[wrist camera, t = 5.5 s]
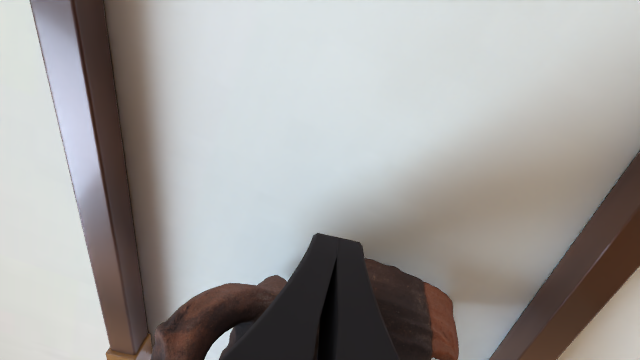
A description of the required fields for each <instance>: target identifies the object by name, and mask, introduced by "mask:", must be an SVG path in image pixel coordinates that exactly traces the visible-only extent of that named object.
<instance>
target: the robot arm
mask: <svg viewBox="0 0 640 360" xmlns="http://www.w3.org/2000/svg"><path fill="white" fill-rule="evenodd" d="M319 321H320V327H319V340H318V353H317V360H400V358H399V356H398V354H397V352H396V349H395V347H394V345H393V342H392V340H391V338H390V335H389V333H388V330H387V328H386V326H385V323H384V320H383V318H382V315H381V312H380V310H379V307H378V304H377V301H376V298H375V295H374V292H373V289H372V286H371V282H370V279H369V275H368V271H367V267H366V263H365V259H364V254H363V247H362V245H361V244H360V242H356V241H351V240H347V239H342V238H338V237H333V236H329V235H324V234H320V233H317V234H315V235H313V238H312V241H311V243H310V245H309V248H308V250H307V252H306V253H305V255H304V257H303V259H302V260H301V262H300V264H299V265H298V267H297V268H296V270H295V271H294V273H293V274H292V276H291V277H290V279H289V280H288V282H287V283H286V285H285V286H284V287H283V289H282V290H281V291H280V293H279V294H278V295H277V296H276V298H275V299H274V300H273V302H272V303H271V304H270V305H269V307H268V308H267V309H266V310H265V312H264V313H263V314H262V315H261V316H260V317H259V319H258V320H257V321H256V322H255V323H254V324H253V325H252V326H251V327H250V329H249V330H248V331H247V332H246V333H245V334H244V335H243V336H242V337H241V338H240V339H239V340H238V341H237V342H236V343H235V344H234V345H233V346H232V347H231V348H230V349H229V350H228V351H227V352H226V353H225V354H224V355H223V356H222V357H221V358H220V359H219V360H313V356H314V349H315V343H316V336H317V329H318V325H319Z"/></svg>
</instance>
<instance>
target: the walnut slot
mask: <svg viewBox="0 0 640 360" xmlns="http://www.w3.org/2000/svg"><path fill="white" fill-rule="evenodd" d="M30 4H31V8H32V12H33V17H34V21H35V25H36V30H37V34H38V38H39V43H40V47H41V51H42V56H43V60H44V64H45V68H46V73H47V77H48V81H49V86H50V90H51V94H52V99H53V103H54V107H55V111H56V116H57V120H58V124H59V129H60V133H61V137H62V142H63V146H64V150H65V155H66V159H67V163H68V167H69V172H70V176H71V180H72V185H73V189H74V193H75V198H76V202H77V206H78V210H79V215H80V219H81V223H82V228H83V232H84V236H85V241H86V245H87V249H88V254H89V258H90V262H91V266H92V271H93V275H94V279H95V284H96V288H97V292H98V297H99V301H100V305H101V309H102V314H103V318H104V322H105V327H106V331H107V335H108V340H109V344H110V348H109V349H108V351H107V352H106V357H107V360H150V359H151V355H152V351H153V350H152V342H151V335H150V334H148V330H147V322H146V315H145V308H144V300H143V293H142V285H141V278H140V270H139V263H138V256H137V248H136V241H135V233H134V226H133V219H132V211H131V204H130V196H129V189H128V182H127V174H126V167H125V159H124V152H123V145H122V137H121V130H120V122H119V115H118V108H117V100H116V93H115V85H114V78H113V71H112V63H111V56H110V48H109V41H108V33H107V26H106V19H105V11H104V4H103V0H30ZM639 266H640V151H639V153H638V154H637V155H636V157H635V158H634V160H633V161H632V162H631V164H630V165H629V167H628V168H627V169H626V171H625V172H624V173H623V175H622V176H621V178H620V179H619V180H618V182H617V183H616V185H615V186H614V187H613V189H612V190H611V192H610V193H609V194H608V196H607V197H606V198H605V200H604V201H603V203H602V204H601V205H600V207H599V208H598V210H597V211H596V212H595V214H594V215H593V216H592V218H591V219H590V221H589V222H588V223H587V225H586V226H585V228H584V229H583V230H582V232H581V233H580V235H579V236H578V237H577V239H576V240H575V241H574V243H573V244H572V246H571V247H570V248H569V250H568V251H567V253H566V254H565V255H564V257H563V258H562V259H561V261H560V262H559V264H558V265H557V266H556V268H555V269H554V271H553V272H552V273H551V275H550V276H549V278H548V279H547V280H546V282H545V283H544V284H543V286H542V287H541V289H540V290H539V291H538V293H537V294H536V296H535V297H534V298H533V300H532V301H531V302H530V304H529V305H528V307H527V308H526V309H525V311H524V312H523V314H522V315H521V316H520V318H519V319H518V320H517V322H516V323H515V325H514V326H513V327H512V329H511V330H510V332H509V333H508V334H507V336H506V337H505V339H504V340H503V341H502V343H501V344H500V345H499V347H498V348H497V350H496V351H495V352H494V354H493V355H492V357H491V358H490V359H489V360H556V359H557V358H558V357H559V356H560V355H561V354H562V353H563V352H564V350H565V349H566V348H567V347H568V346H569V345H570V344H571V343H572V341H573V340H574V339H575V338H576V337H577V336H578V335H579V334H580V332H581V331H582V330H583V329H584V328H585V327H586V326H587V325H588V323H589V322H590V321H591V320H592V319H593V318H594V317H595V316H596V315H597V313H598V312H599V311H600V310H601V309H602V308H603V307H604V306H605V304H606V303H607V302H608V301H609V300H610V299H611V298H612V297H613V295H614V294H615V293H616V292H617V291H618V290H619V289H620V288H621V286H622V285H623V284H624V283H625V282H626V281H627V280H628V279H629V277H630V276H631V275H632V274H633V273H634V272H635V271H636V270H637V268H638V267H639Z"/></svg>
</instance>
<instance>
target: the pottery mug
mask: <svg viewBox="0 0 640 360" xmlns="http://www.w3.org/2000/svg"><path fill="white" fill-rule="evenodd" d="M364 259H365V263H366V267H367V271H368V275H369V279H370V282H371V286H372V289H373V292H374V295H375V298H376V301H377V304H378V307H379V310H380V312H381V315H382V318H383V320H384V323H385V326H386V328H387V330H388V333H389V335H390V338H391V340H392V342H393V345H394V347H395V349H396V352H397V354H398V356H399V358H400V360H431V358H433V357H434V358H435V359H439V360H458V354H459V348H458V338H457V332H456V326H455V321H454V317H453V304H452V301H451V300H450V299H449V297H448V296H447V295H446V294H445V293H443V292H442V291H441V290H439V289H438V288H437V287H434V286H432V285H430V284H428V283H426V282H423V281H422V280H420V279H419V278H417V277H414V276H411V275H409V274H406V273H404V272H402V271H400V270H399V269H398V268H396V267H394V266H389V265H384V264H382V263H379V262H377V261H374V260H371V259H366V258H364ZM286 283H287V281H286V280H285V279H283V278H281V277H280V276H278V275H274V276H271V277H268V278H266V279H265V280H264V281H263V282H261V283H260V284H258V285H257V286H256V285H248V284H240V283H228V284H224V285H221V286H218V287H215V288H212V289H209V290H207V291H204V292H202V293H200V294H199V295H197V296H195V297H193V298H192V299H190V300H189V301H188V302H186V303H185V304H184V305H182V306H181V307H180V308H179V309H178V310H177V311H176V312H175V313H174V314H173V315H172V316H171V317H170V318H169V319H168V320H167V321H166V322H164V323H162V324H160V325H159V326H158V327H157V329H156V331H155V336H154V337H155V344H154V347H153V351H152V355H151V359H150V360H204V359H205V356H206V354H207V352H208V351H209V349H210V347H211V346H212V344H213V343H214V342H215V341H216V340H217V339H218V338H219V337H220V336H221V335H222V334H224V333H225V332H226V331H228V330H229V329H231V328H233V330H232V332H231V333H230V339H229V344H228V346H227V347H226V348H225V349H224V350H223V351H222V353H221V356H220V358H221V357H222V356H223V355H224V354H225V353H226V352H227V351H228V350H229V349H230V348H231V347H232V346H233V345H234V344H235V343H236V342H237V341H238V340H239V339H240V338H241V337H242V336H243V335H244V334H245V333H246V332H247V331H248V330H249V329H250V327H251V326H252V325H253V324H254V323H255V322H256V321H257V320H258V319H259V317H260V316H261V315H262V314H263V313H264V312H265V310H266V309H267V308H268V307H269V305H270V304H271V303H272V302H273V300H274V299H275V298H276V296H277V295H278V294H279V293H280V291H281V290H282V289H283V287H284V286H285V285H286ZM319 327H320V321H319V325H318V329H317V336H316V343H315V349H314V356H313V360H317V353H318V340H319ZM220 358H219V359H220Z"/></svg>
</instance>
